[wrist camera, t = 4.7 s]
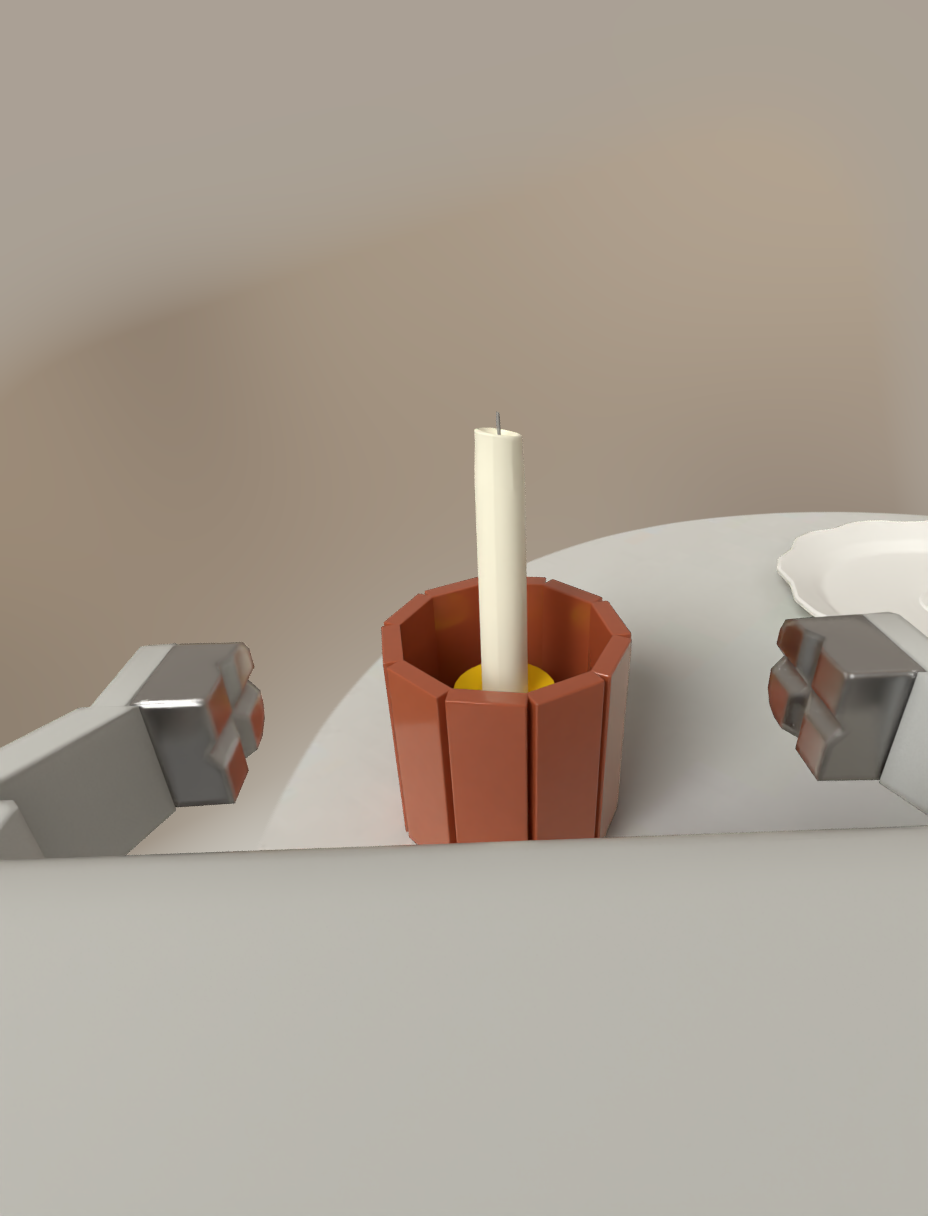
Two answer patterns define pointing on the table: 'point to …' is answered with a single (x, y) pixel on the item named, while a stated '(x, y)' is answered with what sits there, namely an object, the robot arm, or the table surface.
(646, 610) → the table surface
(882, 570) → the plate
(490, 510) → the candle
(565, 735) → the holder cup
